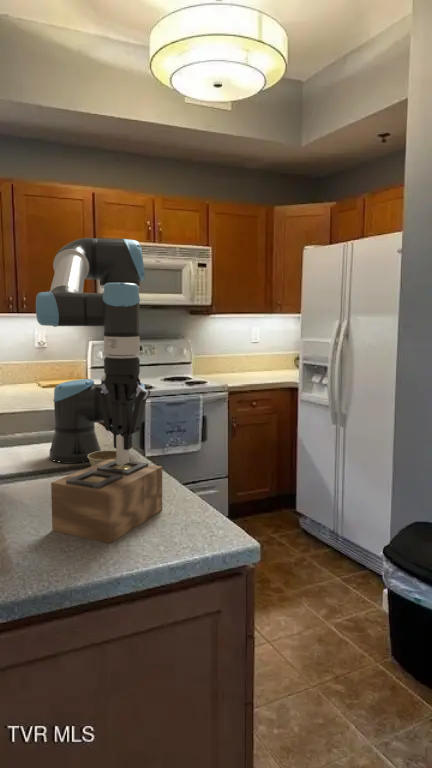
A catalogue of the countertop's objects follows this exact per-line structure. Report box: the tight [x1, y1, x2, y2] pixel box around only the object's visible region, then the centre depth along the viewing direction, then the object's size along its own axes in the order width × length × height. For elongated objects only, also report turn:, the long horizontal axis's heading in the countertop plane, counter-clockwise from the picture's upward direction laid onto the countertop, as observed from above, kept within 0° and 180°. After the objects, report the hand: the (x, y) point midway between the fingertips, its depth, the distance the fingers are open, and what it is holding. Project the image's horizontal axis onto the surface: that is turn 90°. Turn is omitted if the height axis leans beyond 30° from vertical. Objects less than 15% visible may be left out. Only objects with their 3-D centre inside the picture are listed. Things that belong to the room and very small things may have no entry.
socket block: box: [50, 459, 163, 544], centre depth 116 cm, size 20×14×11 cm
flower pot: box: [87, 449, 117, 467], centre depth 137 cm, size 9×9×9 cm
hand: (122, 463), depth 120 cm, fingers closed
